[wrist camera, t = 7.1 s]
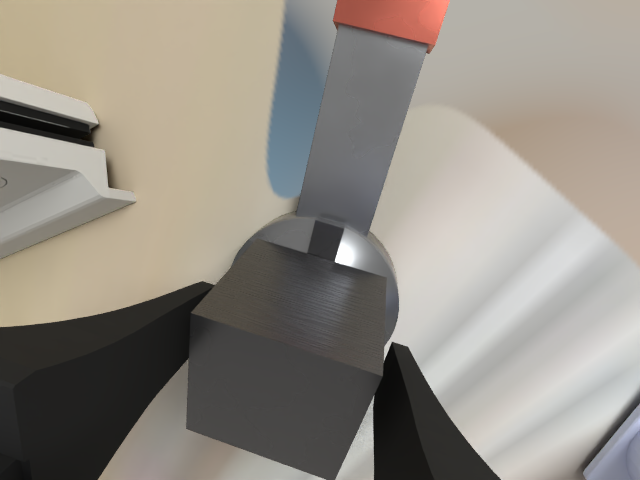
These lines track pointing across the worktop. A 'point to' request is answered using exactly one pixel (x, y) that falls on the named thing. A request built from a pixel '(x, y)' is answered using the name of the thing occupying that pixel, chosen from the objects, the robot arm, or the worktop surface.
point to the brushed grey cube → (287, 357)
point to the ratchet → (359, 135)
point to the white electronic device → (48, 166)
